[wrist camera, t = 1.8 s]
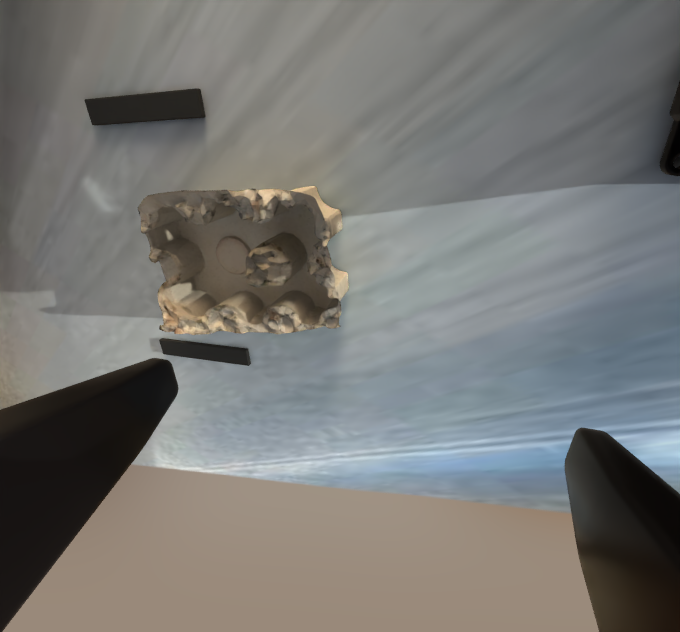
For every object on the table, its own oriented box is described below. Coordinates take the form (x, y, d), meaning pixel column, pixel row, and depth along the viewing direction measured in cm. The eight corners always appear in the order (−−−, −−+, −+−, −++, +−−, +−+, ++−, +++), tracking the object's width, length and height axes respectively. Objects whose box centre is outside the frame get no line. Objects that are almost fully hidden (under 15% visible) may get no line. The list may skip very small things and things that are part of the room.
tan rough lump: (197, 305, 23) (152, 335, 20) (167, 185, 20) (106, 195, 17) (354, 318, 21) (333, 355, 17) (348, 179, 17) (321, 191, 14)
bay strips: (200, 89, 17) (196, 88, 17) (250, 363, 24) (248, 365, 24) (88, 99, 19) (84, 99, 19) (166, 352, 26) (163, 354, 26)
